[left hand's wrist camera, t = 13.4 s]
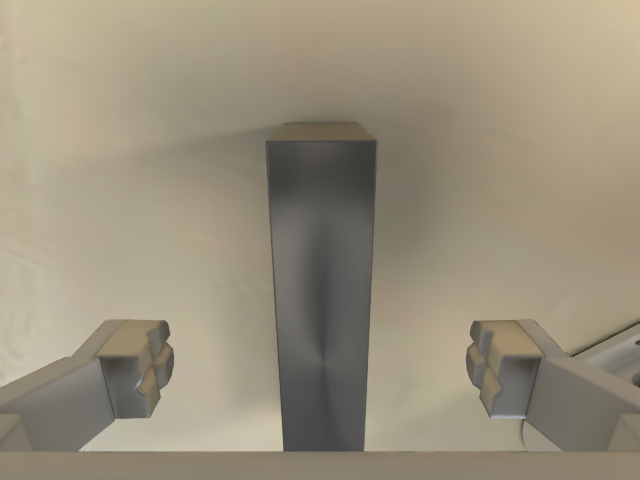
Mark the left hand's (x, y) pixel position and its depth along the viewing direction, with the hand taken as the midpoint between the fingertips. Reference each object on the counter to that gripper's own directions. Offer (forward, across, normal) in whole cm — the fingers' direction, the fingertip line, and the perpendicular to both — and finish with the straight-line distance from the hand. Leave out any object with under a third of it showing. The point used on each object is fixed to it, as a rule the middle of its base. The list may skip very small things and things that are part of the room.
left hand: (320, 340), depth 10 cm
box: (+23, 0, +10) cm, 25 cm away
